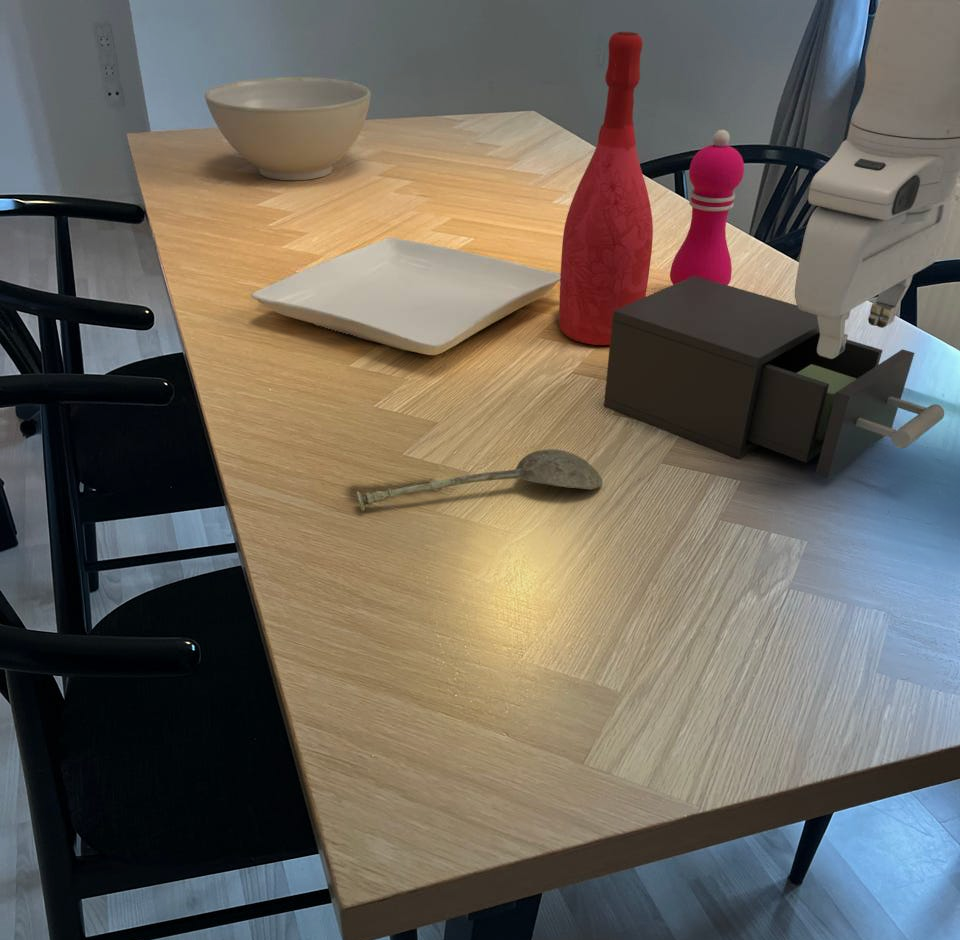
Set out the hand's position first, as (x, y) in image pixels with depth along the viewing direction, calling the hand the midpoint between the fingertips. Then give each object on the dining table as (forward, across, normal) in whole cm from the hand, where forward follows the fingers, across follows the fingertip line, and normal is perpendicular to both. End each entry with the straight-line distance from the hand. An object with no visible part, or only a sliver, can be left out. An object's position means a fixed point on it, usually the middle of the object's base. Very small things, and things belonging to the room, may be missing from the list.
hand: (855, 339), depth 85 cm
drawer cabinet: (+11, 0, -13) cm, 17 cm away
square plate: (+11, +3, -53) cm, 54 cm away
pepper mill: (+11, -22, -29) cm, 38 cm away
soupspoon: (+11, +28, -18) cm, 35 cm away
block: (+7, 0, 0) cm, 7 cm away
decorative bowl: (+11, -28, -114) cm, 118 cm away
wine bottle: (+11, -8, -33) cm, 36 cm away
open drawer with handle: (+10, 0, -2) cm, 10 cm away
